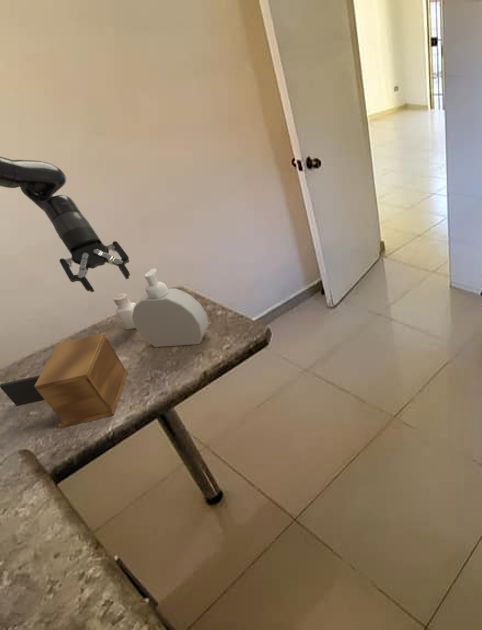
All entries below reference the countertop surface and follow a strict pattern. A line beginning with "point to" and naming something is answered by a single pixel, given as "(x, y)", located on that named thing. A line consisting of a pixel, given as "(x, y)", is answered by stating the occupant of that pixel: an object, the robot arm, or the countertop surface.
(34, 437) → the countertop surface
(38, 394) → the dark grey block
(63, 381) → the wooden box
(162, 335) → the soap bottle
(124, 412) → the countertop surface
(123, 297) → the white bottle
